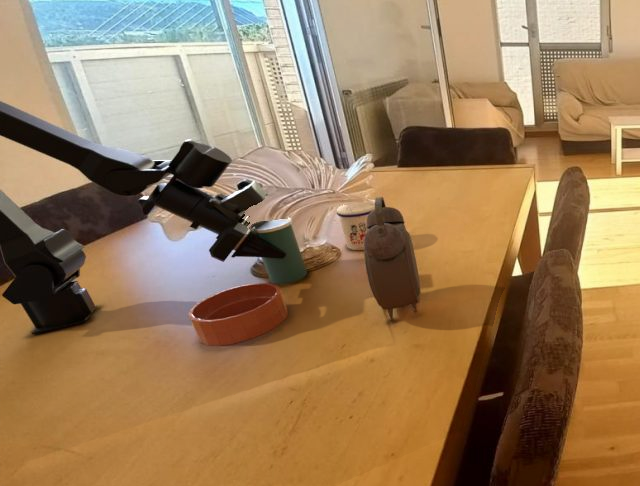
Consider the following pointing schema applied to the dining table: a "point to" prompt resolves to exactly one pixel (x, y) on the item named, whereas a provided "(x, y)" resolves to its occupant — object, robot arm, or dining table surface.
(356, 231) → the teacup with lid
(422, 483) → the dining table surface
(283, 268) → the green canister
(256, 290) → the bowl
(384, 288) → the alarm clock
